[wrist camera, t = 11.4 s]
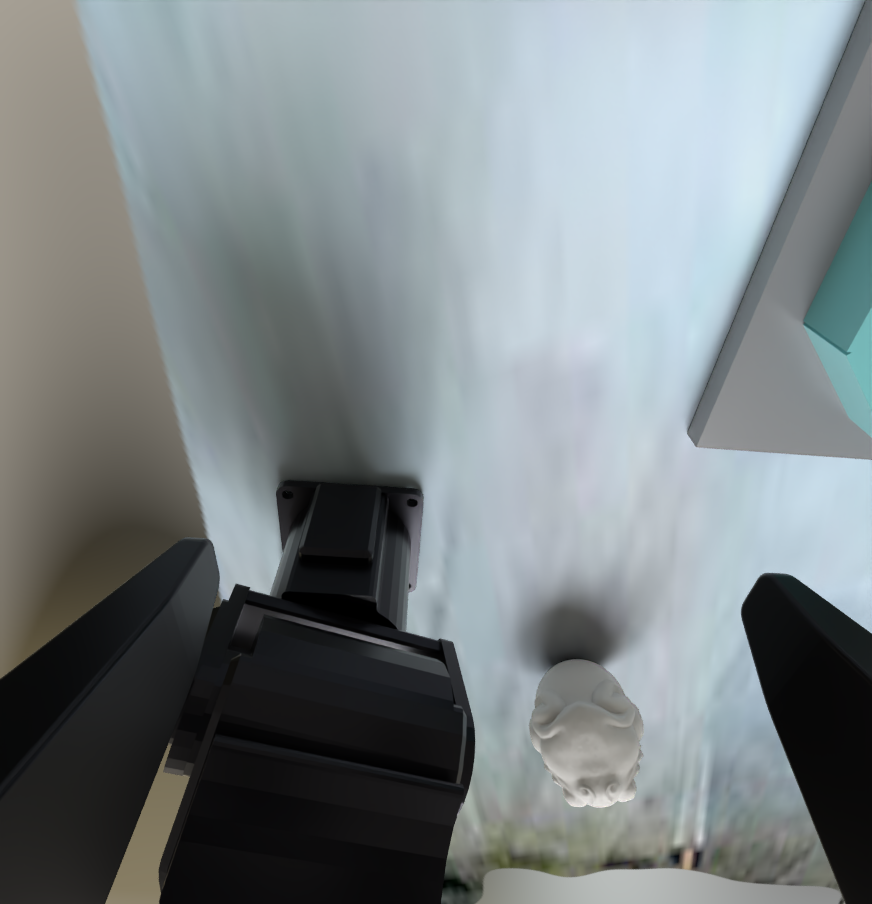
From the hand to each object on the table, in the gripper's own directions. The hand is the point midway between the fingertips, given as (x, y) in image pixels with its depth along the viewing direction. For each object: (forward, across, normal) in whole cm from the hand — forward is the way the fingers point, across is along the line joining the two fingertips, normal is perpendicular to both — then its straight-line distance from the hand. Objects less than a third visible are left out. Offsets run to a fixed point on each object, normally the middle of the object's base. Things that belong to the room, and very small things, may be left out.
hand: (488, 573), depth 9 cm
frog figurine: (+13, -9, +22) cm, 27 cm away
